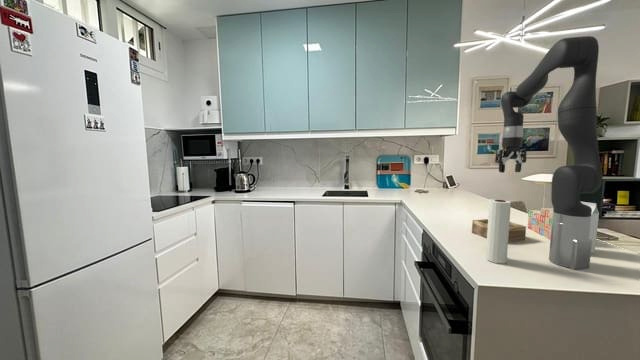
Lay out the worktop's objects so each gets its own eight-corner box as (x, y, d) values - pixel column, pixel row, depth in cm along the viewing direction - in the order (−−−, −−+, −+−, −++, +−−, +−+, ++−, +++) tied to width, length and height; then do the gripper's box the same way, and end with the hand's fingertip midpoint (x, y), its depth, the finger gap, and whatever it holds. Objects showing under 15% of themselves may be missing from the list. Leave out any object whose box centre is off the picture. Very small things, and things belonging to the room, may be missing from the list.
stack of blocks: (527, 228, 130) (529, 203, 129) (541, 228, 129) (543, 204, 128) (556, 243, 109) (559, 214, 108) (574, 244, 108) (577, 214, 107)
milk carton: (586, 256, 96) (592, 204, 94) (561, 249, 102) (566, 201, 100) (594, 252, 99) (600, 202, 97) (570, 246, 105) (574, 199, 103)
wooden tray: (524, 241, 113) (526, 226, 112) (497, 244, 110) (499, 228, 109) (496, 231, 127) (497, 218, 126) (471, 233, 123) (472, 220, 123)
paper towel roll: (507, 265, 88) (511, 202, 86) (485, 261, 92) (489, 201, 89) (505, 258, 95) (510, 199, 92) (485, 254, 98) (489, 197, 95)
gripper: (506, 136, 115) (503, 173, 117) (533, 136, 118) (530, 172, 119) (492, 137, 122) (489, 172, 124) (518, 137, 125) (515, 171, 127)
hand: (509, 172), depth 122 cm, fingers open, 8 cm apart
